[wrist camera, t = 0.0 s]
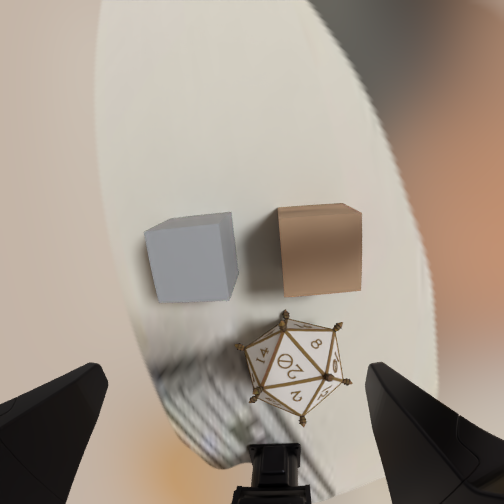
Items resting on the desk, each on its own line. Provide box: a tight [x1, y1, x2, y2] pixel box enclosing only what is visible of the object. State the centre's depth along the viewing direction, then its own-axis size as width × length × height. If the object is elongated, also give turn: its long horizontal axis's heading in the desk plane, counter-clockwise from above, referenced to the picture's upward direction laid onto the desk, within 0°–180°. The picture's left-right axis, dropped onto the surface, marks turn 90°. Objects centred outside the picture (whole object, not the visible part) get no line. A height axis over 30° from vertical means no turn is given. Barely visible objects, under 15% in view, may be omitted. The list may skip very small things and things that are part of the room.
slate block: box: [144, 212, 239, 303], centre depth 20 cm, size 5×5×5 cm
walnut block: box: [278, 203, 362, 297], centre depth 19 cm, size 5×5×5 cm
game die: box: [235, 310, 353, 427], centre depth 20 cm, size 9×8×10 cm
